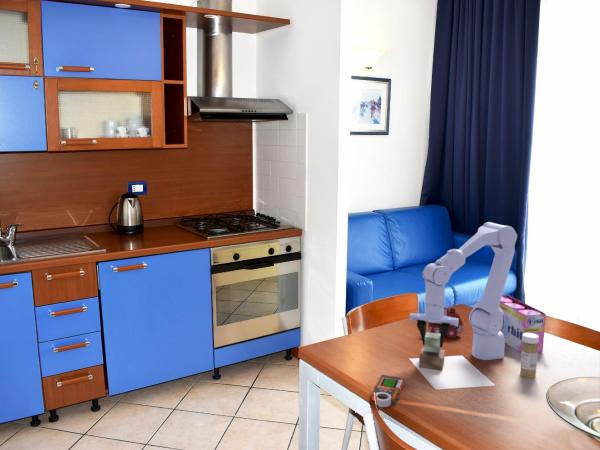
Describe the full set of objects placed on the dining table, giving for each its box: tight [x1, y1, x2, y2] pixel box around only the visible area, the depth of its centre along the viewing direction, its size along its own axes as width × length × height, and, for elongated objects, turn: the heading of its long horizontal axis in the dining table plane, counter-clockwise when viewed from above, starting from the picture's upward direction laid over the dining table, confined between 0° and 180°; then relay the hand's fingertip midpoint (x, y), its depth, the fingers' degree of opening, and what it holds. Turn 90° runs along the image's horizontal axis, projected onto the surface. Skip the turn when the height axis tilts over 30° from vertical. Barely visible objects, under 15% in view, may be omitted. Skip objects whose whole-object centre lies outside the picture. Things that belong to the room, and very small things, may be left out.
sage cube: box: [423, 331, 442, 353], centre depth 173 cm, size 4×4×4 cm
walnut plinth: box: [418, 346, 446, 371], centre depth 174 cm, size 7×7×4 cm
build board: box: [408, 355, 496, 391], centre depth 169 cm, size 18×22×1 cm
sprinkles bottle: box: [519, 333, 539, 379], centre depth 166 cm, size 5×5×13 cm
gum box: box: [499, 294, 547, 354], centre depth 196 cm, size 24×8×14 cm, turn 12°
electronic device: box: [372, 374, 405, 408], centre depth 155 cm, size 7×3×15 cm
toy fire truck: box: [427, 306, 464, 339], centre depth 201 cm, size 7×12×10 cm, turn 75°
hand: (432, 345), depth 173 cm, fingers closed on sage cube, 4 cm apart
